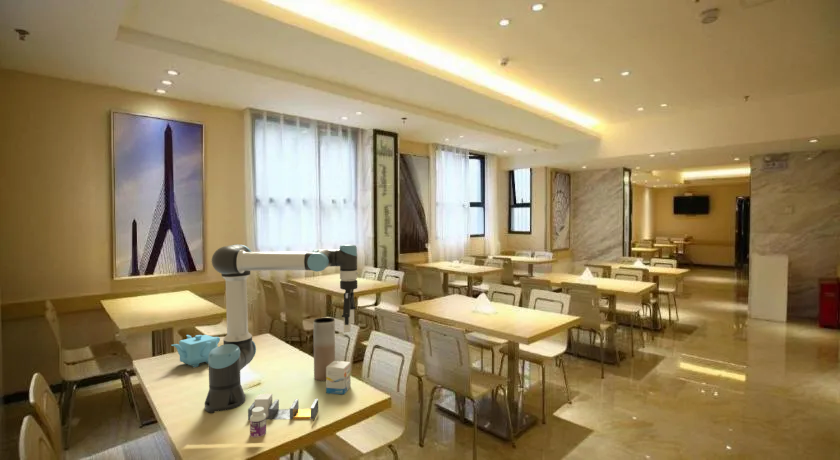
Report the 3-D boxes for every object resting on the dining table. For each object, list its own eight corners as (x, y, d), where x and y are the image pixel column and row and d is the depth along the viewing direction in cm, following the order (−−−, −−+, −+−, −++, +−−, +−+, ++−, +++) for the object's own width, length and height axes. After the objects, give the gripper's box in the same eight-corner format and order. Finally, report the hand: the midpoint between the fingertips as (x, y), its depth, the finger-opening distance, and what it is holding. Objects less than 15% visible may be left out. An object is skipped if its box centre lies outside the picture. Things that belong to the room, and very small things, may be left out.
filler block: (255, 417, 159) (254, 399, 159) (259, 411, 164) (259, 393, 164) (268, 417, 159) (268, 399, 159) (272, 411, 164) (272, 393, 164)
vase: (323, 372, 208) (322, 316, 207) (339, 375, 203) (338, 318, 202) (309, 379, 199) (308, 321, 198) (326, 382, 194) (325, 323, 193)
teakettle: (222, 356, 232) (221, 329, 232) (211, 368, 214) (211, 339, 213) (185, 358, 229) (184, 331, 228) (171, 370, 210) (170, 341, 210)
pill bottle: (246, 438, 146) (246, 411, 146) (257, 431, 151) (257, 404, 151) (259, 441, 144) (258, 413, 144) (269, 433, 149) (269, 407, 149)
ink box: (344, 394, 181) (343, 368, 181) (325, 393, 183) (325, 366, 182) (351, 386, 190) (351, 361, 189) (333, 385, 191) (333, 360, 191)
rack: (247, 422, 157) (247, 409, 157) (255, 412, 165) (255, 399, 165) (313, 421, 158) (313, 408, 158) (318, 411, 166) (318, 398, 166)
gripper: (353, 284, 172) (354, 335, 173) (360, 275, 197) (360, 320, 198) (335, 284, 172) (336, 335, 173) (344, 275, 197) (344, 320, 198)
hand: (349, 327), depth 185 cm, fingers open, 13 cm apart
